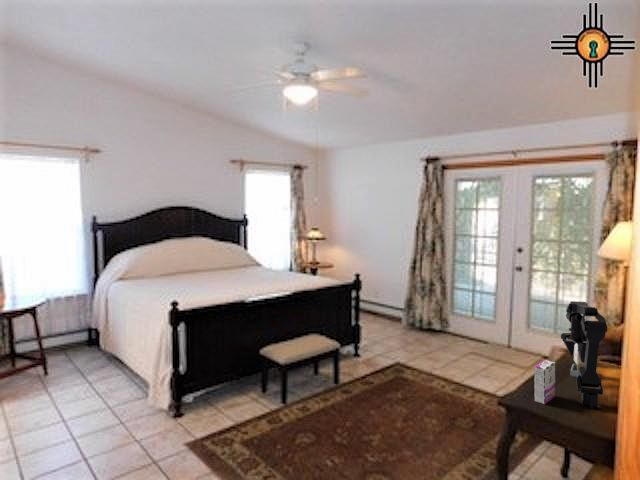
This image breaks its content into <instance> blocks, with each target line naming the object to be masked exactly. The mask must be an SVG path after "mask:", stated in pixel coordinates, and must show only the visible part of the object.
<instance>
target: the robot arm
mask: <svg viewBox="0 0 640 480" xmlns="http://www.w3.org/2000/svg"><path fill="white" fill-rule="evenodd" d="M565 311H566V315H565V318H566V319H567V320H568V322H569V323H570V327H569V328H568V331H570V332H562V333H561V335H560V339H561V340H562V342H563V344H564V346H565V347H566V349H567V351H568V353H569V356H571V357H572V356H573V357H574V345H575V344H576V343H577V344H578V353H579V356H580V360H581V362H582V363H584V367H580V368H579V374H578V375H577V377H575V378H576V379H575V381H576V391H577V392H579V393H580V394H581V400H578V401H577V402H578V404H580V405H581V406H582V407H584V408H585V409H588V410H589V409H590V410H591V409H592V410H593V409H602V406H600V405H599V402H598V401H599V395H601V396H603V393H604V389H603V385H602V380H601V377H600V375H599V373H598V371H597V366H598V359H599V350H600V342H602V341H603V340H604V339H605V338H606V334H607V332H608V325H607V322H606V318H605V317H604V316H603V315H602V314H600V313H599V311H598V308H597V307H592V306H589V305H588V302H586V301H574V300H573V301H572V300H571V301H570V302H569V303H568V305H567V306H566V309H565ZM586 317H594V318H595V320H586ZM584 341H585V343H584Z"/></svg>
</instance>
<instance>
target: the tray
mask: <svg viewBox="0 0 640 480" xmlns="http://www.w3.org/2000/svg"><path fill="white" fill-rule="evenodd" d="M578 374H579V372H578V371H577V364H576V363H572V365H571V368H570V371H569V375H570V377H573V378H577V375H578Z"/></svg>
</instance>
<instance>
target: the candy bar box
mask: <svg viewBox="0 0 640 480" xmlns="http://www.w3.org/2000/svg"><path fill="white" fill-rule="evenodd" d="M533 370H534V371H533V373H534V377H533V379H534V385H533V387H534V391H533V394H534V402H536V403H539V404H542V405H547V403H549V402H550V401H551V400H553V399H554V398H555V397H556V362H555V361H551V360H548V359H543V361H541V362H540V363H538V364H536V365H535V366H534V367H533Z"/></svg>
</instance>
